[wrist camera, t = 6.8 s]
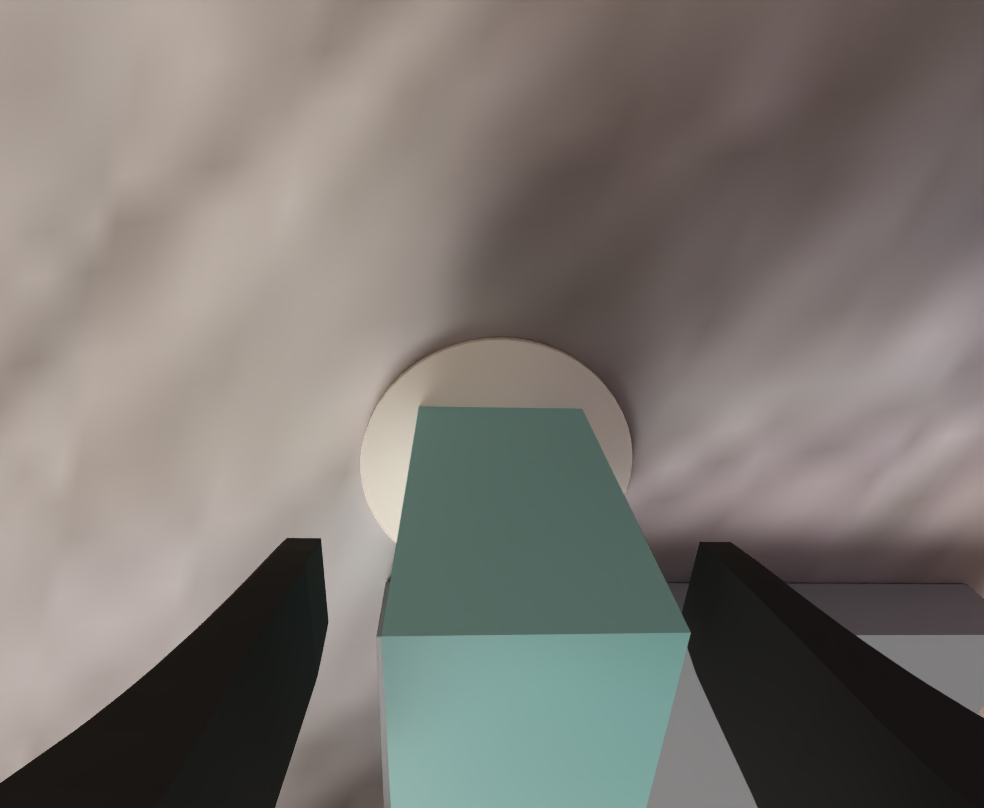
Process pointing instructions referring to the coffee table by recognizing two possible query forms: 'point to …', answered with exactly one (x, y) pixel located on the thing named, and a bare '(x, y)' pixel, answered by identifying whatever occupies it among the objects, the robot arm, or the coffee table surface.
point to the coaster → (482, 383)
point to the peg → (523, 621)
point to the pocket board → (859, 608)
